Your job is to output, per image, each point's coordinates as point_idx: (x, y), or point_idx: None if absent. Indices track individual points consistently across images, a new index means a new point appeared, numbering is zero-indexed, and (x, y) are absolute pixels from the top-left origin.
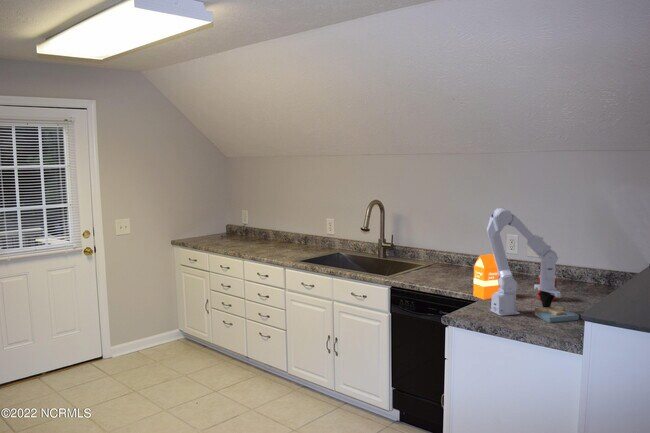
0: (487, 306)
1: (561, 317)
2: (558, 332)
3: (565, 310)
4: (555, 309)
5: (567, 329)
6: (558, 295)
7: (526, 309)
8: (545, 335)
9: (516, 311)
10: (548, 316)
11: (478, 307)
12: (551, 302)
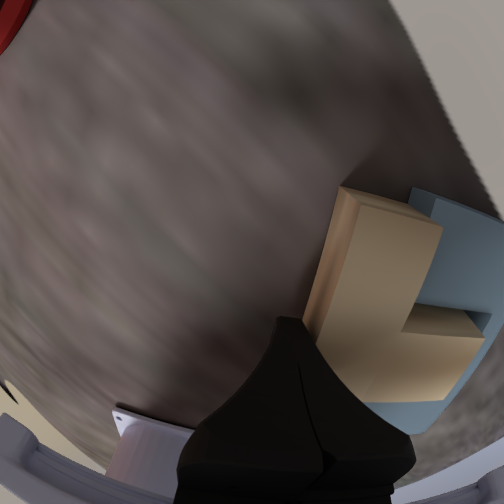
0: (66, 416)
1: (467, 371)
2: (476, 430)
3: (436, 219)
4: (405, 358)
5: (498, 393)
6: (490, 493)
7: (128, 343)
8: (448, 462)
9: (185, 434)
10: (410, 430)
11: (81, 440)
12: (335, 374)
